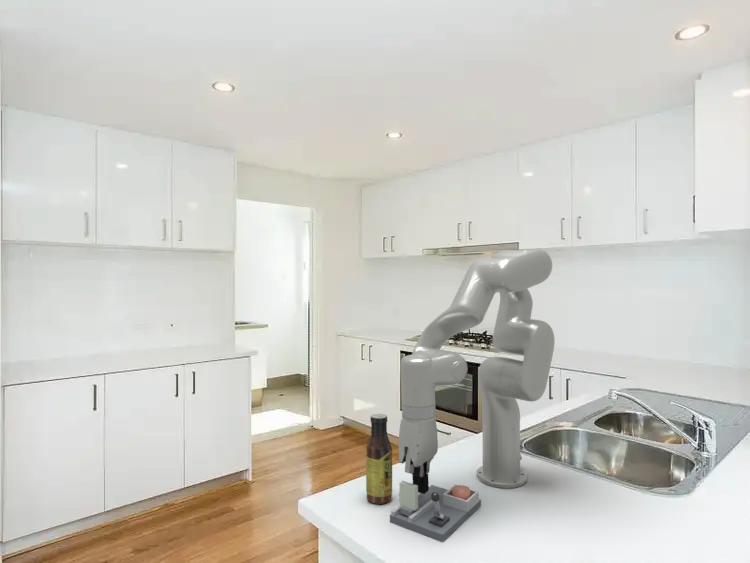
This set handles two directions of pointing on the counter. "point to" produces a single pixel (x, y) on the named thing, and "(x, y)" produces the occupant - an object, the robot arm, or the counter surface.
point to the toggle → (437, 506)
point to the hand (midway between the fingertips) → (420, 490)
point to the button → (461, 492)
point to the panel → (450, 507)
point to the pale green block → (408, 498)
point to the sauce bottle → (379, 462)
